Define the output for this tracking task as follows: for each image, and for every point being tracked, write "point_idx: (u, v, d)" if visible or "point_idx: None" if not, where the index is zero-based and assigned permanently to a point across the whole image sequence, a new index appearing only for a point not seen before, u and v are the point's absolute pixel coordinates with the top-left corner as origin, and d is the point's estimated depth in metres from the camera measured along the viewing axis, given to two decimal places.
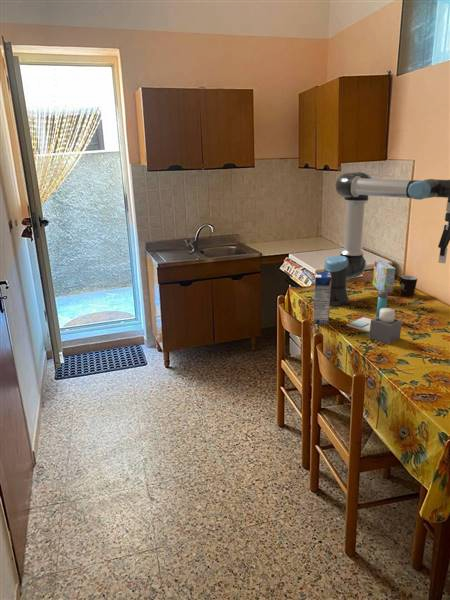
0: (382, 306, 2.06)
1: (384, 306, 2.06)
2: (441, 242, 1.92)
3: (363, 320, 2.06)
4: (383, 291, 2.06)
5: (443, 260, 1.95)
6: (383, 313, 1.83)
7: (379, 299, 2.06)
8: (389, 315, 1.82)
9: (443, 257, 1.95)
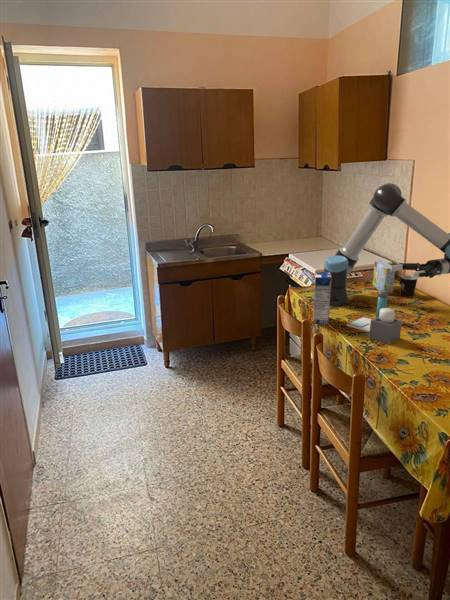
0: (382, 306, 2.06)
1: (384, 306, 2.06)
2: (433, 273, 2.02)
3: (363, 320, 2.06)
4: (383, 291, 2.06)
5: (415, 276, 2.01)
6: (383, 313, 1.83)
7: (379, 299, 2.06)
8: (389, 315, 1.82)
9: (417, 276, 2.02)
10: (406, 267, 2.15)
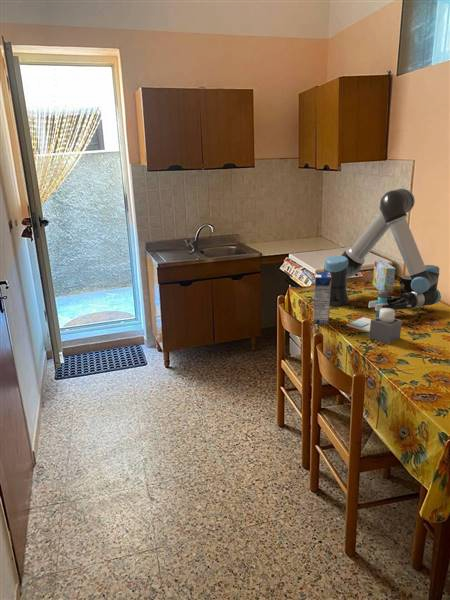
0: None
1: None
2: (397, 306, 2.04)
3: (363, 320, 2.06)
4: (383, 291, 2.06)
5: (378, 309, 2.04)
6: (383, 313, 1.83)
7: (379, 299, 2.06)
8: (389, 315, 1.82)
9: (380, 308, 2.05)
10: None
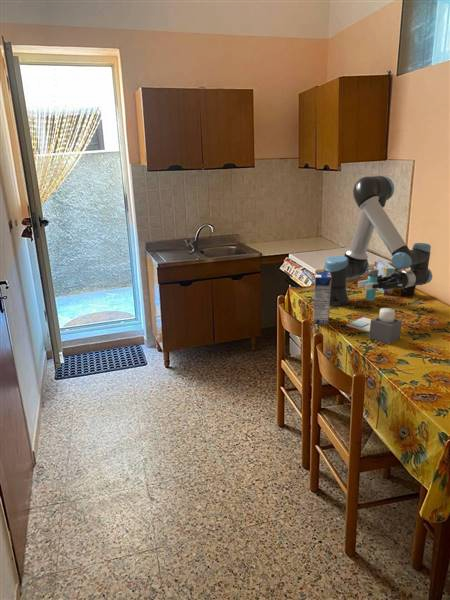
0: None
1: None
2: (387, 285, 1.95)
3: (363, 320, 2.06)
4: (373, 270, 1.96)
5: (368, 288, 1.94)
6: (383, 313, 1.83)
7: (369, 278, 1.96)
8: (389, 315, 1.82)
9: (370, 287, 1.95)
10: None
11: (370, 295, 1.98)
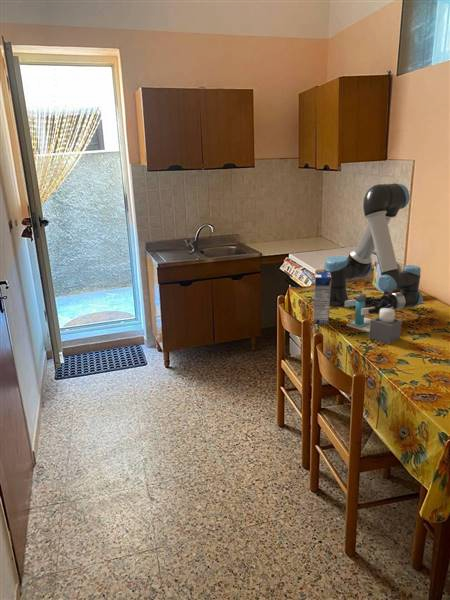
0: (360, 310, 1.98)
1: None
2: None
3: None
4: (361, 294, 1.98)
5: (364, 313, 1.94)
6: (383, 313, 1.83)
7: (357, 303, 1.98)
8: (389, 315, 1.82)
9: (366, 312, 1.94)
10: None
11: (358, 319, 2.00)
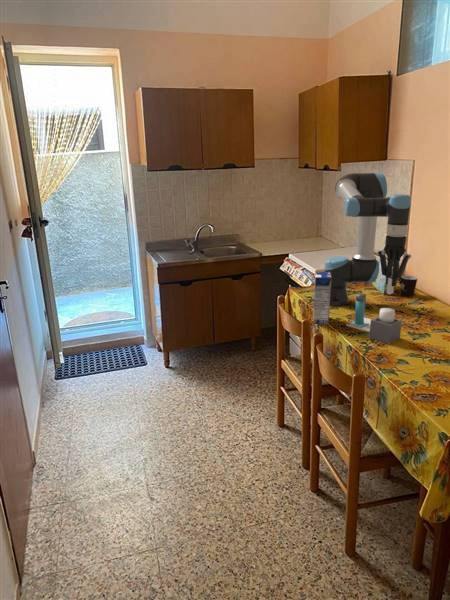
0: (360, 310, 1.98)
1: (362, 310, 1.98)
2: None
3: None
4: (361, 294, 1.98)
5: None
6: (383, 313, 1.83)
7: (357, 303, 1.98)
8: (389, 315, 1.82)
9: None
10: None
11: (358, 319, 2.00)
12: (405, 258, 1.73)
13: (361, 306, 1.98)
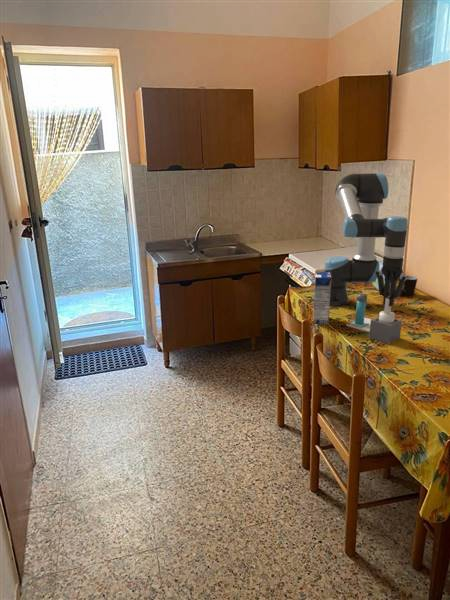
0: (361, 310, 1.98)
1: (363, 310, 1.98)
2: None
3: None
4: (362, 294, 1.98)
5: None
6: (383, 316, 1.83)
7: (358, 303, 1.98)
8: (388, 318, 1.82)
9: None
10: None
11: (359, 319, 2.00)
12: (402, 279, 1.75)
13: (362, 306, 1.98)
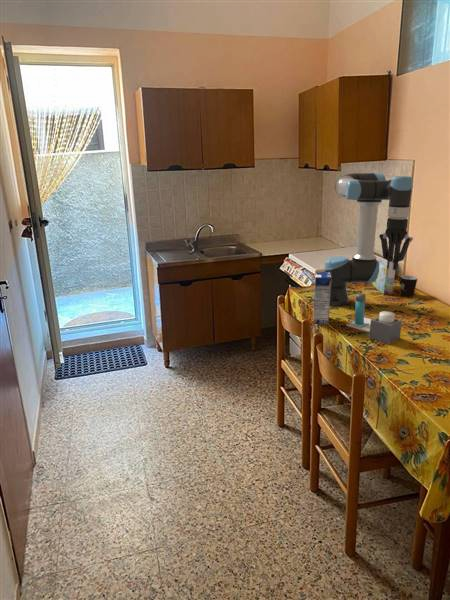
0: (360, 310, 1.98)
1: (362, 310, 1.98)
2: None
3: None
4: (360, 294, 1.98)
5: None
6: (383, 316, 1.83)
7: (356, 303, 1.99)
8: (388, 319, 1.82)
9: None
10: None
11: (358, 319, 2.00)
12: (407, 241, 1.71)
13: (361, 306, 1.98)
